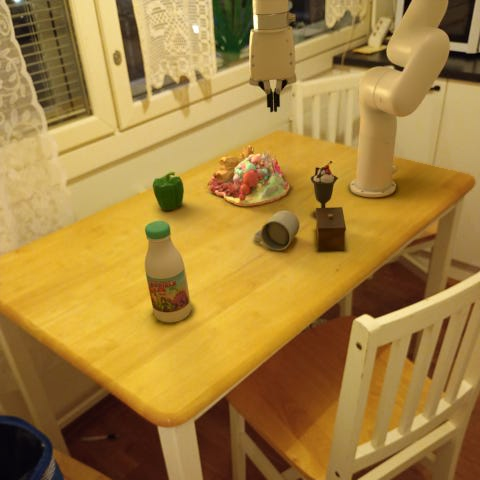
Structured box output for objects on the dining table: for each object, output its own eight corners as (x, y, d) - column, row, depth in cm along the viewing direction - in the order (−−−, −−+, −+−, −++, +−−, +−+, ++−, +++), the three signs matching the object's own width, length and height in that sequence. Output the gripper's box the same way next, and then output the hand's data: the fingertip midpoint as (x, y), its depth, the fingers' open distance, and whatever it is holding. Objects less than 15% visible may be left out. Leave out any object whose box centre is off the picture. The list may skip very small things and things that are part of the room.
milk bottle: (155, 303, 112) (137, 218, 99) (191, 299, 112) (178, 214, 100) (153, 325, 106) (134, 238, 93) (191, 321, 106) (177, 233, 94)
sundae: (335, 221, 135) (337, 164, 126) (309, 220, 136) (309, 164, 127) (336, 209, 140) (339, 154, 131) (311, 208, 141) (312, 154, 132)
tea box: (317, 251, 124) (318, 225, 120) (315, 230, 132) (316, 205, 128) (344, 251, 123) (346, 225, 119) (340, 229, 131) (342, 204, 127)
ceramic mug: (301, 236, 130) (301, 208, 125) (291, 253, 124) (290, 223, 119) (261, 231, 133) (259, 203, 129) (249, 247, 128) (247, 218, 123)
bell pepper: (150, 211, 147) (144, 177, 141) (164, 198, 153) (159, 165, 147) (177, 214, 144) (171, 180, 138) (190, 201, 150) (185, 168, 144)
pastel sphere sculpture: (193, 188, 157) (190, 157, 152) (251, 164, 169) (249, 135, 163) (251, 212, 142) (249, 180, 136) (309, 184, 154) (309, 153, 148)
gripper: (305, 16, 114) (305, 104, 126) (237, 21, 116) (243, 107, 127) (306, 22, 108) (306, 113, 120) (234, 27, 110) (240, 117, 121)
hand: (273, 110), depth 123 cm, fingers closed
